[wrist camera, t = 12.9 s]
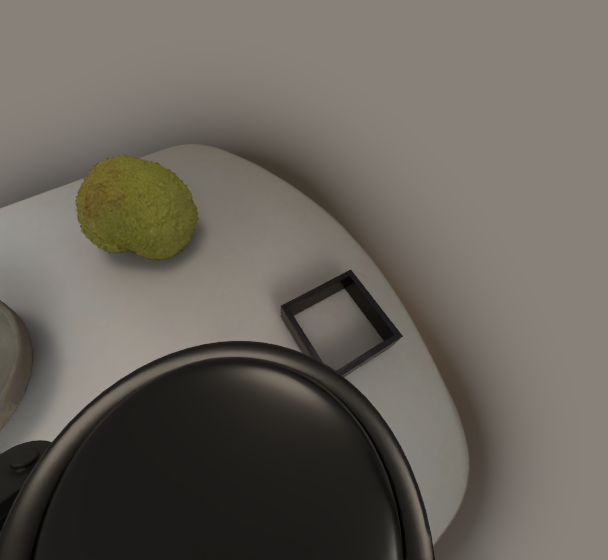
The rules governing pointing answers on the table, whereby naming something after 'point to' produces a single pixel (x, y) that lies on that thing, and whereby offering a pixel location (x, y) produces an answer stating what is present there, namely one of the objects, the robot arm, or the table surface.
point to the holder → (363, 302)
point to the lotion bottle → (223, 468)
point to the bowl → (13, 361)
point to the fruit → (136, 208)
